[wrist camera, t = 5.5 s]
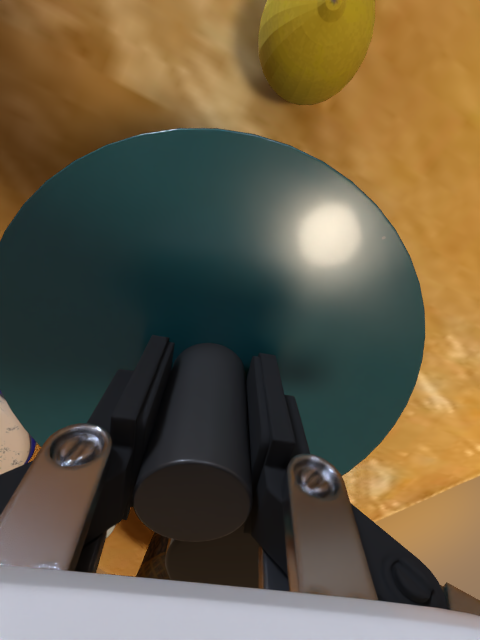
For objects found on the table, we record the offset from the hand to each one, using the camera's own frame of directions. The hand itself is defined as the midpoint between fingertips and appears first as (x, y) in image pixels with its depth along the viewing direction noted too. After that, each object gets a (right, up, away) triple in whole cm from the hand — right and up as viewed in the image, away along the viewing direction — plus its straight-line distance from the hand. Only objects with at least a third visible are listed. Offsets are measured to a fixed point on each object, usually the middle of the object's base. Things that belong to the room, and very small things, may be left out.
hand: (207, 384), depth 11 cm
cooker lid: (0, +1, +1) cm, 1 cm away
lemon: (+5, +18, +9) cm, 21 cm away
